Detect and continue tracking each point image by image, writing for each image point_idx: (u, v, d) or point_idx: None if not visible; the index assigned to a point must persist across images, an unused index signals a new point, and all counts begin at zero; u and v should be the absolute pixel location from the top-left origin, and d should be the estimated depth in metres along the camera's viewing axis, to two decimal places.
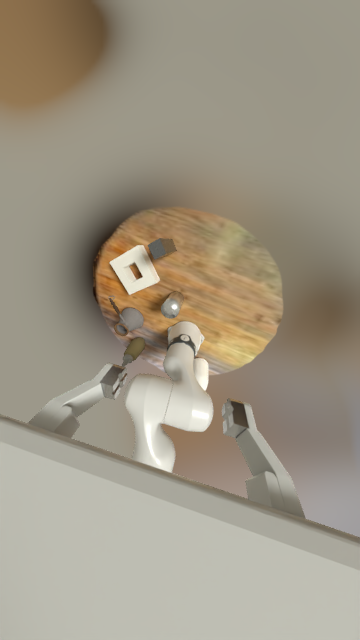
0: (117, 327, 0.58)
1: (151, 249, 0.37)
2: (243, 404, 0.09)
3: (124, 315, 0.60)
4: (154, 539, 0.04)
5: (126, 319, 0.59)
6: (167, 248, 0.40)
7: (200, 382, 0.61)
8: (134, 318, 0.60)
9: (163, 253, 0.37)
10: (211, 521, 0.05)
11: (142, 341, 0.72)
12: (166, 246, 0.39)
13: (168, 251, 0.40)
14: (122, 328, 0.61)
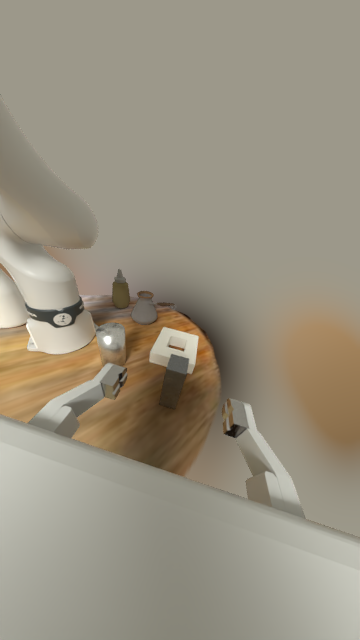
0: (150, 295, 0.57)
1: (182, 358, 0.28)
2: (243, 404, 0.09)
3: (153, 310, 0.57)
4: (154, 539, 0.04)
5: (148, 306, 0.55)
6: (170, 380, 0.27)
7: None
8: (142, 312, 0.54)
9: (169, 366, 0.26)
10: (211, 521, 0.05)
11: (119, 304, 0.63)
12: (172, 380, 0.27)
13: (166, 378, 0.27)
14: None
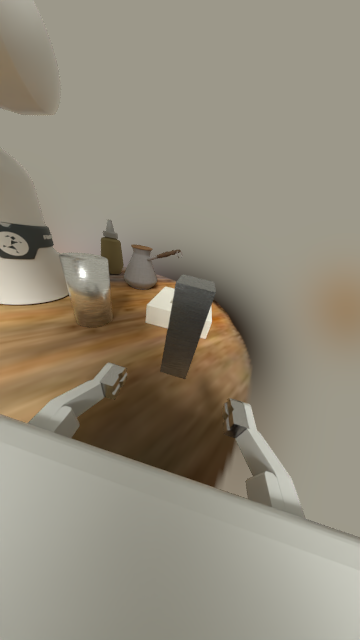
0: None
1: (203, 280, 0.16)
2: (243, 404, 0.09)
3: (152, 269, 0.45)
4: (154, 539, 0.04)
5: (145, 262, 0.42)
6: (181, 313, 0.15)
7: None
8: (137, 269, 0.42)
9: (180, 281, 0.14)
10: (211, 521, 0.05)
11: (109, 268, 0.51)
12: (186, 313, 0.15)
13: (174, 309, 0.15)
14: None
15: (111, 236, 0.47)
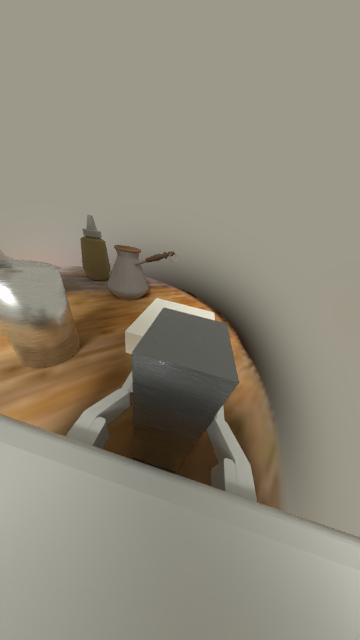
0: None
1: (204, 322, 0.08)
2: None
3: (141, 275, 0.37)
4: (154, 539, 0.04)
5: (132, 267, 0.34)
6: (156, 404, 0.07)
7: None
8: (123, 276, 0.34)
9: (148, 341, 0.06)
10: (211, 521, 0.05)
11: (92, 273, 0.43)
12: (167, 406, 0.06)
13: (140, 396, 0.06)
14: None
15: (92, 235, 0.39)
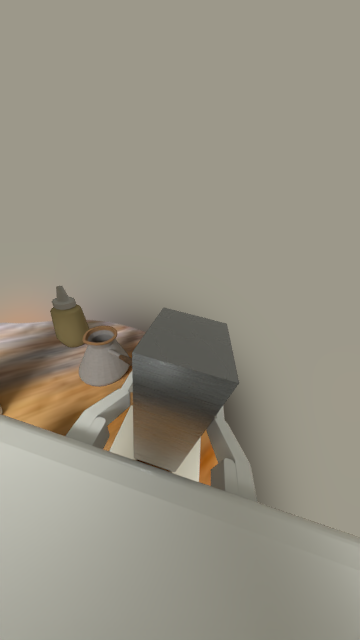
0: (112, 334, 0.31)
1: (204, 322, 0.08)
2: None
3: (118, 359, 0.31)
4: (154, 539, 0.04)
5: (106, 356, 0.29)
6: (156, 405, 0.07)
7: None
8: (95, 368, 0.29)
9: (148, 342, 0.06)
10: (211, 521, 0.05)
11: (67, 343, 0.38)
12: (167, 407, 0.06)
13: (140, 397, 0.06)
14: (106, 338, 0.33)
15: (64, 308, 0.34)
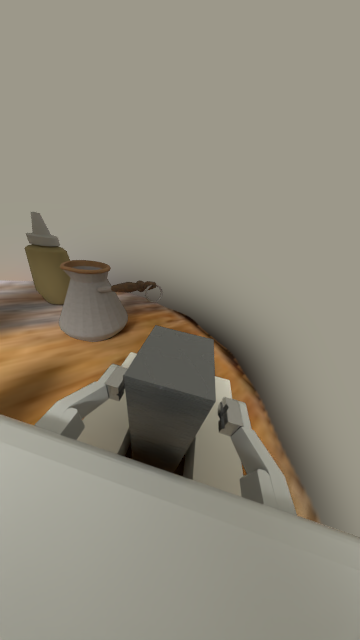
0: None
1: (192, 339, 0.08)
2: (238, 403, 0.09)
3: (112, 306, 0.24)
4: (154, 539, 0.04)
5: (95, 296, 0.21)
6: (148, 417, 0.07)
7: None
8: (79, 311, 0.21)
9: (139, 363, 0.06)
10: (211, 521, 0.05)
11: (48, 296, 0.30)
12: (158, 419, 0.07)
13: (133, 410, 0.07)
14: None
15: (42, 243, 0.26)
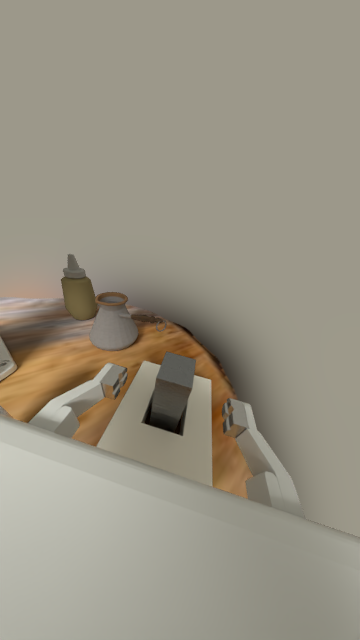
0: (122, 300, 0.32)
1: (185, 359, 0.17)
2: (243, 404, 0.09)
3: (128, 325, 0.32)
4: (154, 539, 0.04)
5: (117, 319, 0.30)
6: (163, 397, 0.16)
7: None
8: (106, 330, 0.29)
9: (161, 372, 0.15)
10: (211, 521, 0.05)
11: (76, 314, 0.39)
12: (168, 397, 0.16)
13: (156, 393, 0.16)
14: None
15: (74, 276, 0.34)
